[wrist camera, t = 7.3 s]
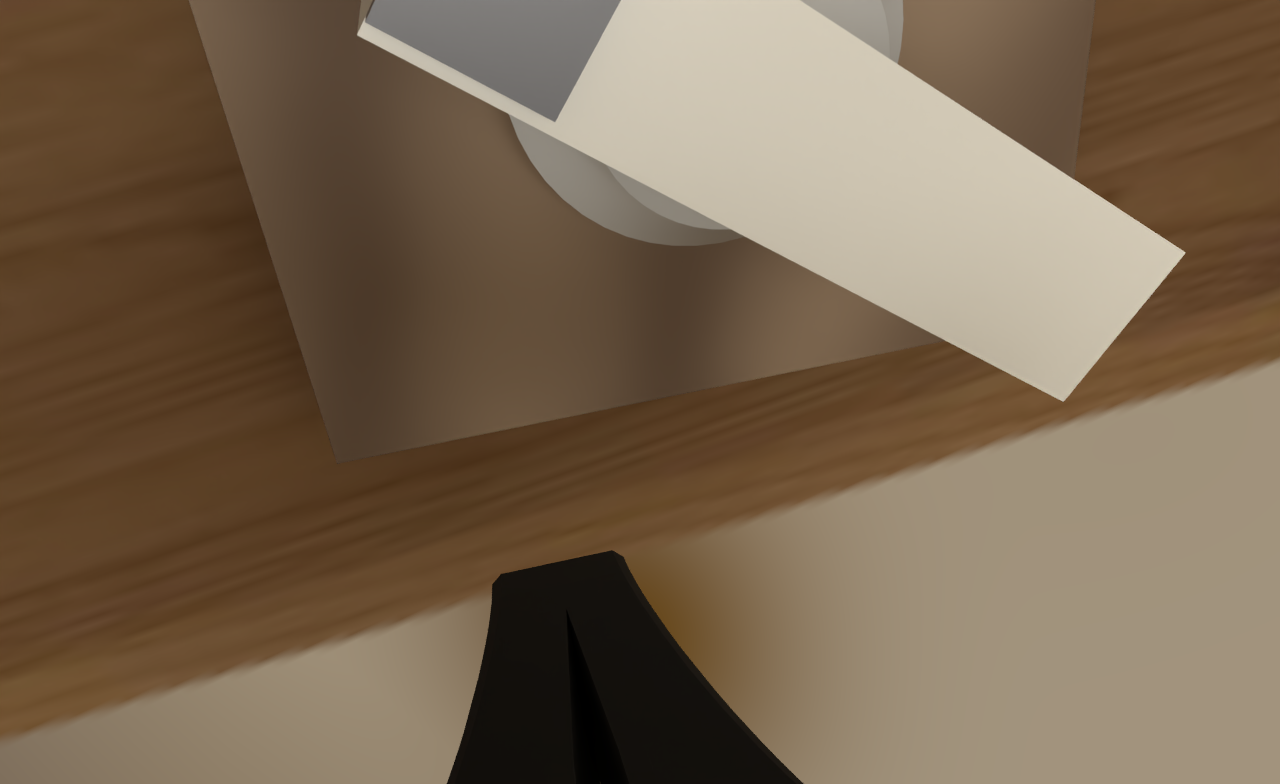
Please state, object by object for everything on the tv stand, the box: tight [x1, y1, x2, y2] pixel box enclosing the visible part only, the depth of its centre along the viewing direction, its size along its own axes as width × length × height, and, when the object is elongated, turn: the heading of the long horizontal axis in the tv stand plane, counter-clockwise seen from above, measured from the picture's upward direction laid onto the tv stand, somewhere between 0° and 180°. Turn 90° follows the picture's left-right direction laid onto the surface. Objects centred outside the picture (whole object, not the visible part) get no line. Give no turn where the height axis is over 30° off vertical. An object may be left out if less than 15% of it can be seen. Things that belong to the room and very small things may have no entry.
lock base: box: [189, 0, 1096, 464], centre depth 17 cm, size 15×14×3 cm
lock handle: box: [357, 0, 1185, 402], centre depth 13 cm, size 10×4×5 cm, turn 60°
